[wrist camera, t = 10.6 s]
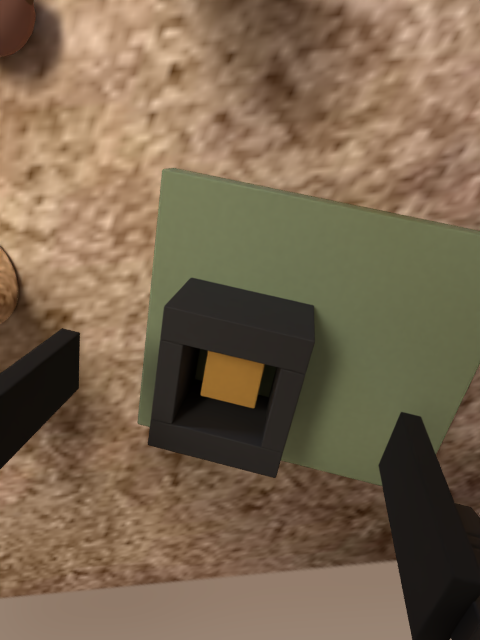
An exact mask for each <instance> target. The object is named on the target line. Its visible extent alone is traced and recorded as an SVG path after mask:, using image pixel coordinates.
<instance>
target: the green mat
mask: <svg viewBox="0 0 480 640" xmlns="http://www.w3.org/2000/svg"><path fill="white" fill-rule="evenodd" d="M190 278H196V279H201V280H205V281H209V282H214V283H218V284H222V285H227V286H231V287H236V288H240V289H244V290H249V291H253V292H257V293H262V294H266V295H271V296H275V297H279V298H284V299H288V300H293V301H297V302H301V303H306V304H310V305H314V323H315V344H314V347H313V351H312V354H311V358H310V361H309V365H308V368H307V372H306V373H305V378H304V382H303V385H302V389H301V392H300V396H299V399H298V403H297V406H296V410H295V413H294V416H293V420H292V423H291V427H290V430H289V434H288V437H287V441H286V444H285V447H284V451H283V454H282V458H281V460H282V461H285V462H289V463H293V464H297V465H301V466H305V467H309V468H313V469H317V470H321V471H325V472H329V473H333V474H337V475H340V476H344V477H348V478H352V479H356V480H360V481H364V482H368V483H372V484H376V485H380V486H382V481H381V476H380V471H379V466H378V465H379V463H380V460H381V458H382V455H383V453H384V451H385V448H386V446H387V444H388V441H389V439H390V436H391V434H392V432H393V429H394V427H395V425H396V422H397V420H398V417H399V415H400V413H401V412H405V413H409V414H413V415H417V416H421V418H422V420H423V423H424V425H425V428H426V431H427V433H428V436H429V438H430V441H431V444H432V446H433V449H434V451H435V454H436V453H437V451H438V449H439V447H440V445H441V443H442V441H443V439H444V437H445V435H446V433H447V431H448V429H449V426H450V424H451V422H452V420H453V418H454V416H455V414H456V412H457V410H458V408H459V406H460V404H461V401H462V399H463V397H464V395H465V393H466V391H467V389H468V387H469V385H470V383H471V381H472V379H473V376H474V374H475V372H476V370H477V368H478V366H479V364H480V231H477V230H472V229H468V228H463V227H458V226H453V225H448V224H443V223H438V222H434V221H429V220H424V219H419V218H414V217H409V216H404V215H400V214H395V213H390V212H385V211H380V210H375V209H370V208H366V207H361V206H356V205H351V204H346V203H341V202H336V201H332V200H327V199H322V198H317V197H312V196H307V195H303V194H298V193H293V192H288V191H283V190H278V189H273V188H269V187H264V186H259V185H254V184H249V183H244V182H239V181H235V180H230V179H225V178H220V177H215V176H210V175H205V174H201V173H196V172H191V171H186V170H181V169H176V168H169V169H163V170H162V179H161V189H160V199H159V209H158V220H157V230H156V240H155V250H154V260H153V271H152V281H151V291H150V301H149V311H148V322H147V332H146V342H145V352H144V363H143V373H142V383H141V393H140V403H139V414H138V424H140V425H144V426H148V427H150V421H151V413H152V405H153V396H154V388H155V379H156V371H157V362H158V353H159V345H160V340H161V339H160V336H161V327H162V319H163V310H164V306H165V305H166V304H167V303H168V301H169V300H170V299H171V298H172V297H173V296H174V295H175V294H176V293H177V292H178V291H179V290H180V289H181V287H182V286H183V285H184V284H185V283H186V282H187V281H188V280H189V279H190ZM275 371H276V367H274V366H270V365H266V364H261V363H257V362H253V361H249V360H245V359H241V358H237V357H232V356H228V355H224V354H220V353H216V352H212V351H207V350H203V349H200V350H199V356H198V363H197V369H196V375H195V379H197V380H201V381H203V383H202V389H201V396H205V397H209V398H213V399H217V400H221V401H225V402H229V403H233V404H237V405H241V406H245V407H249V408H255V405H256V401H257V397H258V395H262V396H266V397H269V395H270V391H271V387H272V383H273V379H274V375H275Z"/></svg>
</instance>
